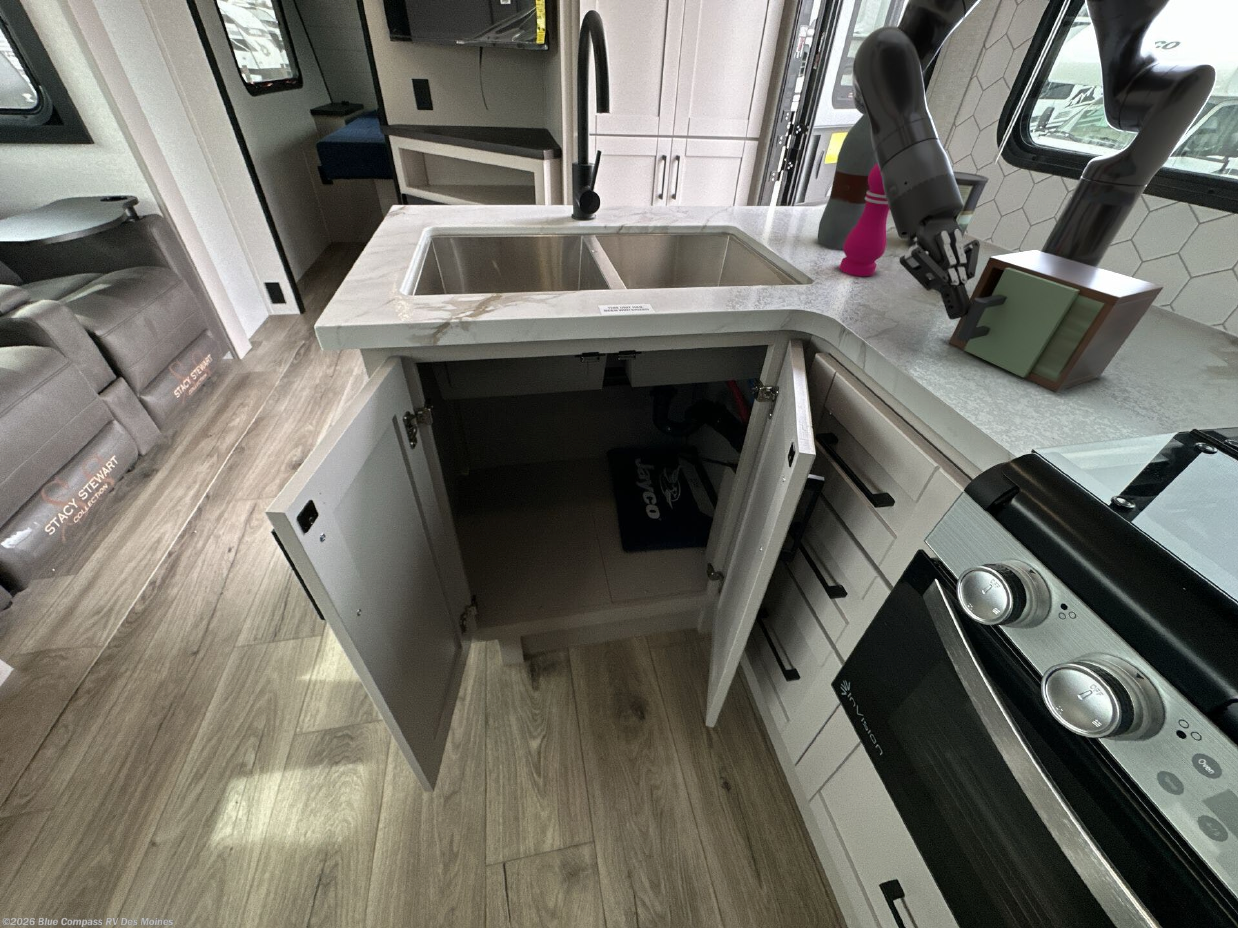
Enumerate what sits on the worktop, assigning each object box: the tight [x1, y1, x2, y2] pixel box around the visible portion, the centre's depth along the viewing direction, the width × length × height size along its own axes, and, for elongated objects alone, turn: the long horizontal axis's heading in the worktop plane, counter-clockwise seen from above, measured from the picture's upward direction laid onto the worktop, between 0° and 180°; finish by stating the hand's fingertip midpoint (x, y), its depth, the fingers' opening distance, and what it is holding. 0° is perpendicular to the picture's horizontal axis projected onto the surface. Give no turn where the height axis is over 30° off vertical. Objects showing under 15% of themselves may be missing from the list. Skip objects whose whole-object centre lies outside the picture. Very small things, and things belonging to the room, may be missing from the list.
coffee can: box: [952, 170, 990, 237], centre depth 110 cm, size 10×10×14 cm
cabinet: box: [948, 249, 1164, 393], centre depth 67 cm, size 10×15×12 cm, turn 27°
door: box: [956, 268, 1080, 379], centre depth 64 cm, size 6×8×11 cm
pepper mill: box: [839, 164, 890, 277], centre depth 91 cm, size 7×7×20 cm
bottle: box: [817, 114, 877, 251], centre depth 102 cm, size 9×9×30 cm
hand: (961, 316), depth 66 cm, fingers closed
